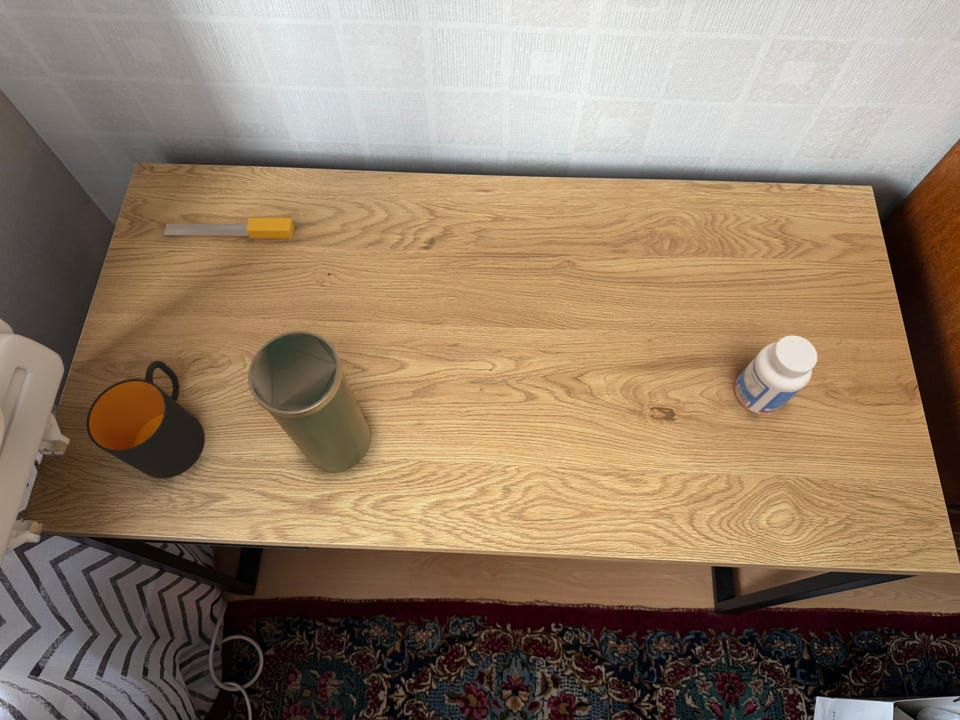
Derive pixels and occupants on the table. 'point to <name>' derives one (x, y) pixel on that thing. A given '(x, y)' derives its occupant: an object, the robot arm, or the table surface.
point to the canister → (310, 399)
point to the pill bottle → (776, 374)
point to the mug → (146, 426)
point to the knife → (235, 229)
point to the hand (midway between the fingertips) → (47, 489)
